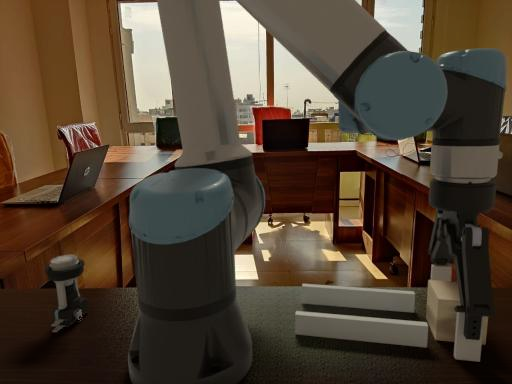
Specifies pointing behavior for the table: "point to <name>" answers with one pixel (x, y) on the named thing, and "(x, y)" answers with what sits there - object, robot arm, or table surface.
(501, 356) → the table surface
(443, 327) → the maple block
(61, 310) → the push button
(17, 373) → the table surface
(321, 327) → the channel
